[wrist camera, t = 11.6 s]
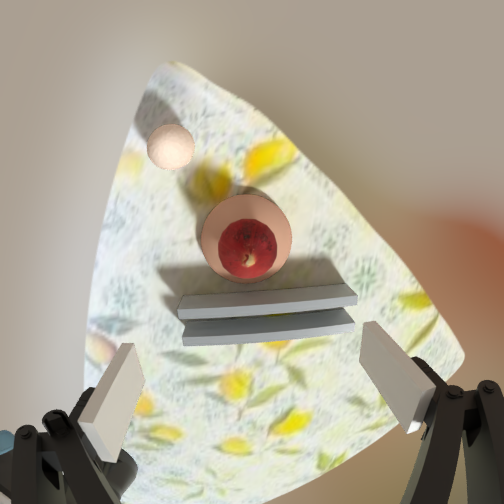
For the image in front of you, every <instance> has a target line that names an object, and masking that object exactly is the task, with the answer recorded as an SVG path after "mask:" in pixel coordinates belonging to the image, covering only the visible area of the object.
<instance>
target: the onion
mask: <svg viewBox="0 0 504 504" xmlns="http://www.w3.org/2000/svg"><path fill="white" fill-rule="evenodd" d="M218 256H219V259H220V261H221V264H222V266H223V268H224V269H226V270H227V271H228V272H229V273H230V274H231V275H234V276H236V277H239V278H255V277H258V276H261V275H263V274H264V273H266V272H267V271H268V270H269V269H270V268H271V267H272V266H273V264H274V262H275V259H276V257H277V242H276V238H275V235H274V233H273V232H272V231H271V229H270V228H269V227H268V226H267V225H266V224H264V223H262V222H260V221H258V220H256V219H240V220H237V221H235V222H233V223H230V224H229V225H228V226H227V228H226V229H225V230H224V231H223V232H222V234H221V237H220V239H219V242H218Z"/></svg>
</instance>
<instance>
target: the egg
mask: <svg viewBox="0 0 504 504" xmlns="http://www.w3.org/2000/svg"><path fill="white" fill-rule="evenodd" d="M194 150H195V143H194V139H193V137H192V135H191V134H190V132H189V131H188V130H187V129H185V128H184V127H182V126H180V125H176V124H166V125H163V126H160V127H159V128H157V129H156V130H154V132H153V133H152V134H151V135H150V137H149V140H148V142H147V153H148V156H149V158H150V159H151V161H152V162H153V163H154V164H155V165H156V166H158V167H160V168H162V169H165V170H176V169H179V168H182V167H183V166H185V165H186V164H187V163H188V162H189V161H190V160H191V159H192V157H193V154H194Z"/></svg>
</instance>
